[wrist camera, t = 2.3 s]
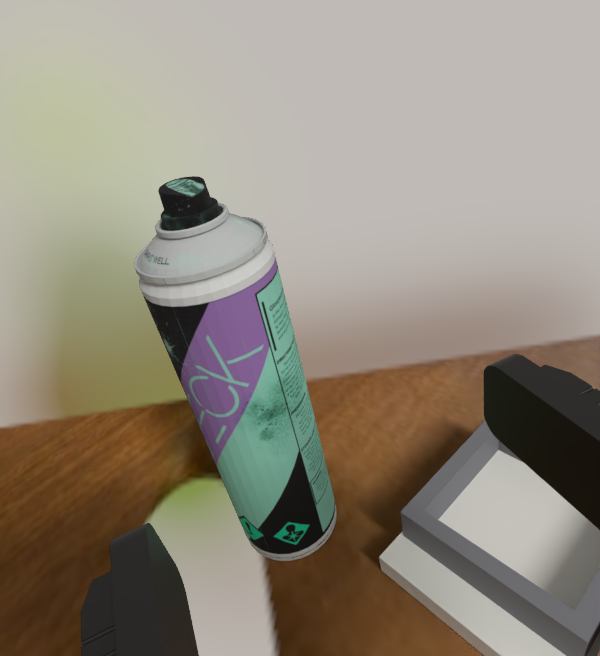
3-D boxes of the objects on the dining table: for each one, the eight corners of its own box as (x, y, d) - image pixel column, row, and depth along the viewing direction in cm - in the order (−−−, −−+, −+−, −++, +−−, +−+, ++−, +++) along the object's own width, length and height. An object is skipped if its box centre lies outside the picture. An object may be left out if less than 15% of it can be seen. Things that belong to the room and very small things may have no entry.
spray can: (258, 477, 31) (146, 170, 21) (342, 479, 30) (269, 150, 19) (234, 558, 27) (74, 221, 16) (330, 565, 26) (227, 201, 15)
